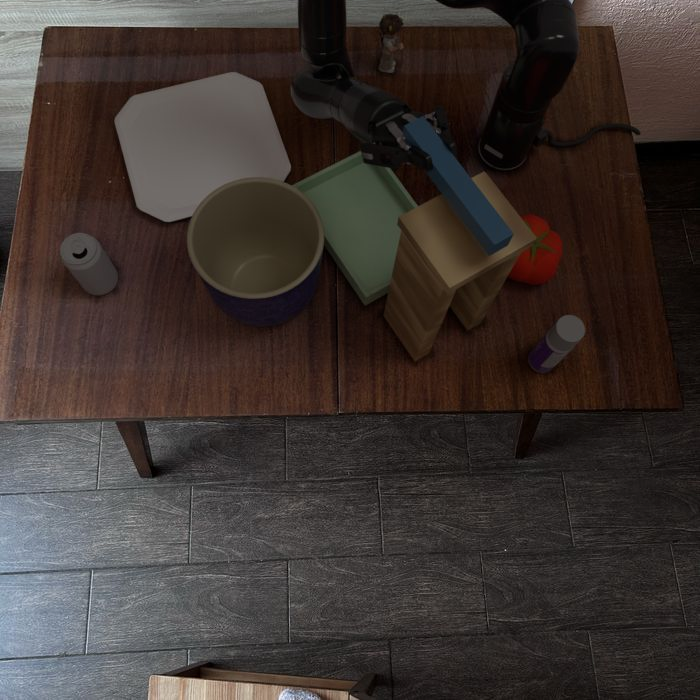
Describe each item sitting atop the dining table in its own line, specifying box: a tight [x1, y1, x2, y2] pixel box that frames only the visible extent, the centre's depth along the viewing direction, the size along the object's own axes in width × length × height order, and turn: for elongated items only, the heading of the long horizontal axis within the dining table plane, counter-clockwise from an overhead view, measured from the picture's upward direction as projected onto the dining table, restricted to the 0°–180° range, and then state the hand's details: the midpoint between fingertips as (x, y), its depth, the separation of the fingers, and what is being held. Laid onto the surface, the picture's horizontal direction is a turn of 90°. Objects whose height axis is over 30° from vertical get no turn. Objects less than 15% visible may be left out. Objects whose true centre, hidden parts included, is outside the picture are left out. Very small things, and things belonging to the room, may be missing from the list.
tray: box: [292, 150, 419, 306], centre depth 125 cm, size 18×26×4 cm
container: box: [527, 314, 586, 374], centre depth 112 cm, size 5×5×15 cm
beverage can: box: [59, 232, 119, 296], centre depth 116 cm, size 6×6×12 cm
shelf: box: [383, 170, 537, 362], centre depth 106 cm, size 14×12×32 cm
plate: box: [114, 71, 292, 224], centre depth 130 cm, size 29×29×2 cm
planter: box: [186, 177, 325, 328], centre depth 113 cm, size 21×21×19 cm
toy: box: [376, 3, 406, 74], centre depth 132 cm, size 6×6×15 cm
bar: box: [403, 116, 514, 256], centre depth 88 cm, size 3×20×3 cm, turn 32°
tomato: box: [507, 213, 563, 286], centre depth 122 cm, size 13×12×8 cm
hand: (441, 157), depth 88 cm, fingers closed on bar, 3 cm apart
